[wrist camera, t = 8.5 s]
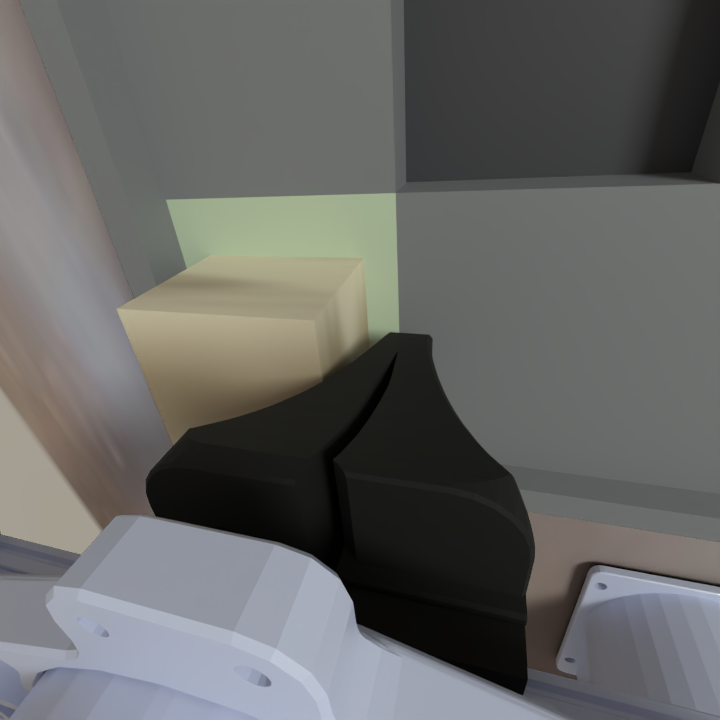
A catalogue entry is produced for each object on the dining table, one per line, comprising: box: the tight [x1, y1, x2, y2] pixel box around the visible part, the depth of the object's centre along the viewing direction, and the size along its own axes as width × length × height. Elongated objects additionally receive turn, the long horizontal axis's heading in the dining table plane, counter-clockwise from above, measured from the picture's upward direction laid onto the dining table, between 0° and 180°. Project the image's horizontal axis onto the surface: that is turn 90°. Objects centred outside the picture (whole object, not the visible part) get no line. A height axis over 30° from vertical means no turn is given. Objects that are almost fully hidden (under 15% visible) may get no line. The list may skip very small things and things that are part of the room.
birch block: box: [117, 255, 370, 445], centre depth 12 cm, size 5×5×4 cm
